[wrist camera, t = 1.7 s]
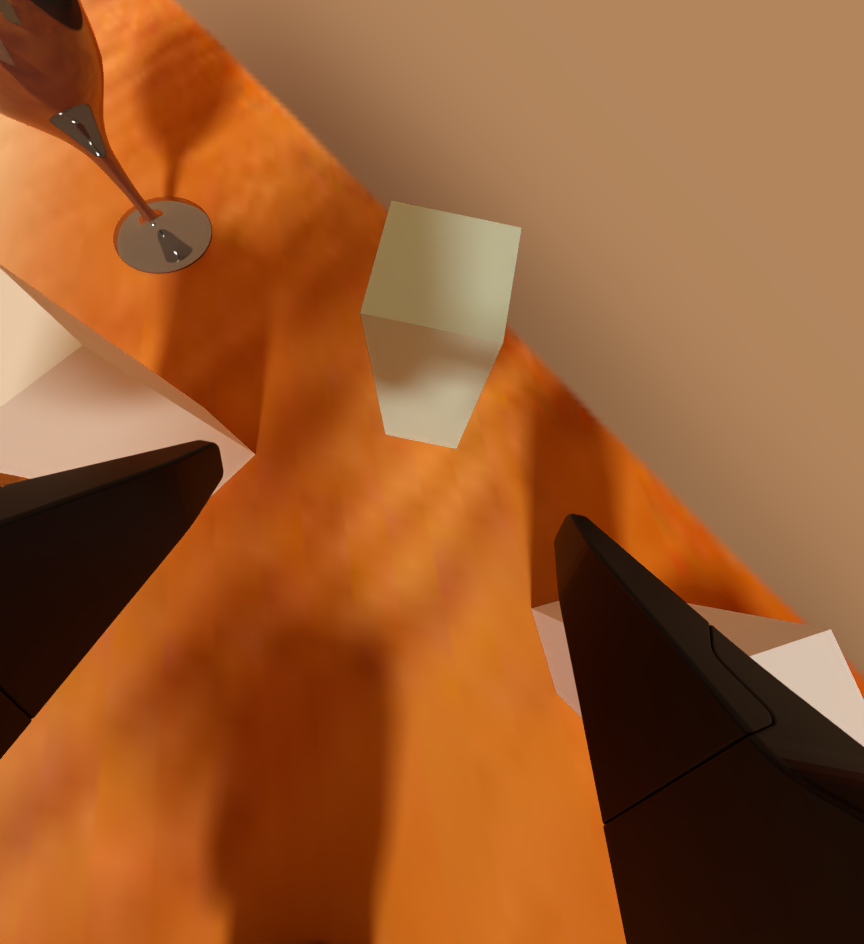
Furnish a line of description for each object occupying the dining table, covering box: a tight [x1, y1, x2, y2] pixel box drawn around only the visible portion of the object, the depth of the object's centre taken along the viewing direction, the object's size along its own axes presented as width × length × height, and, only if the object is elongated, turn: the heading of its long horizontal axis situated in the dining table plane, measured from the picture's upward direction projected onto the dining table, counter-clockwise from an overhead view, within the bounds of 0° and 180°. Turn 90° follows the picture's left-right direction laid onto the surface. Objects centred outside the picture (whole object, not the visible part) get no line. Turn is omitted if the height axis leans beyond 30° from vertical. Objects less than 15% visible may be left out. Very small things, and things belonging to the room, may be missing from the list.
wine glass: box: [0, 0, 212, 273], centre depth 19 cm, size 8×8×15 cm
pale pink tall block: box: [531, 601, 864, 746], centre depth 16 cm, size 5×5×12 cm
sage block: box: [360, 200, 521, 449], centre depth 18 cm, size 5×5×12 cm
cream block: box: [0, 265, 256, 496], centre depth 17 cm, size 5×5×12 cm
